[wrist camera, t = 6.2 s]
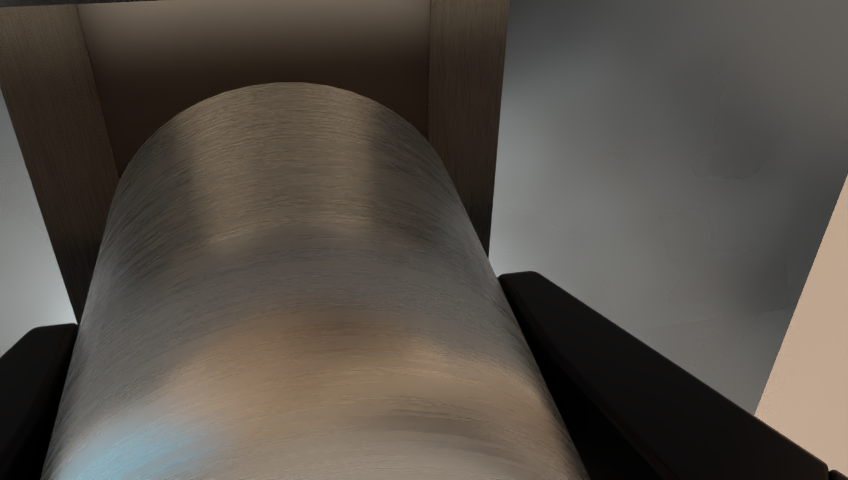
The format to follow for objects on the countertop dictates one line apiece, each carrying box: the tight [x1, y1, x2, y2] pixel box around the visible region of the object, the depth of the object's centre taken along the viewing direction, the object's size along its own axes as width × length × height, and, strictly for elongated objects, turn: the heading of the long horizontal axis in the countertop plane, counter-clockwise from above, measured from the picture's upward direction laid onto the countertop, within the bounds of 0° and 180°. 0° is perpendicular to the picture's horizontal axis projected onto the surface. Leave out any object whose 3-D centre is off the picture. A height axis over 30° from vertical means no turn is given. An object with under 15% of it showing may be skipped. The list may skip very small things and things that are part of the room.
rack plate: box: [0, 0, 848, 415], centre depth 11 cm, size 16×12×4 cm
